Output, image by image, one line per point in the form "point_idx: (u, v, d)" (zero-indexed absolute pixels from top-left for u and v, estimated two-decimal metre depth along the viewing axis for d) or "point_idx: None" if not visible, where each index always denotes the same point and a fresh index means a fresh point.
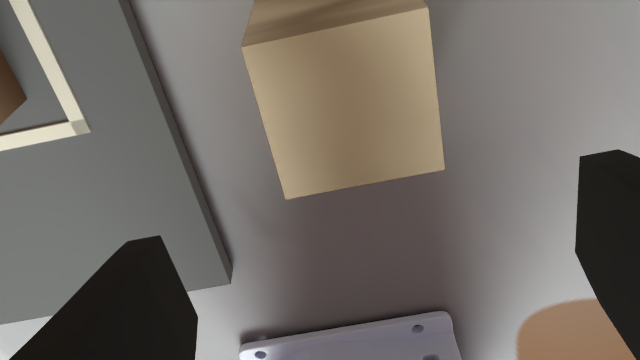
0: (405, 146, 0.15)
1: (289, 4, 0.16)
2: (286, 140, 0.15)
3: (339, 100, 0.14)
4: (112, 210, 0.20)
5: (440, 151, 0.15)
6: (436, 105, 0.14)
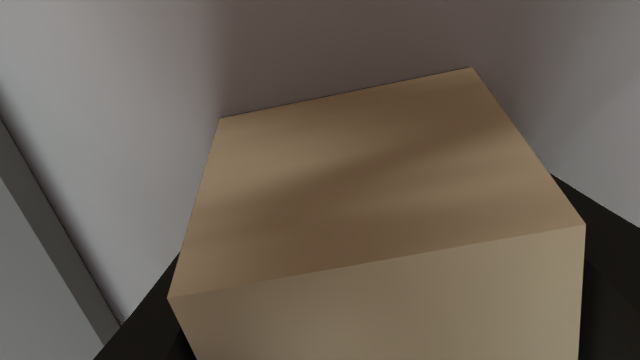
0: None
1: (277, 146, 0.09)
2: None
3: None
4: None
5: None
6: None
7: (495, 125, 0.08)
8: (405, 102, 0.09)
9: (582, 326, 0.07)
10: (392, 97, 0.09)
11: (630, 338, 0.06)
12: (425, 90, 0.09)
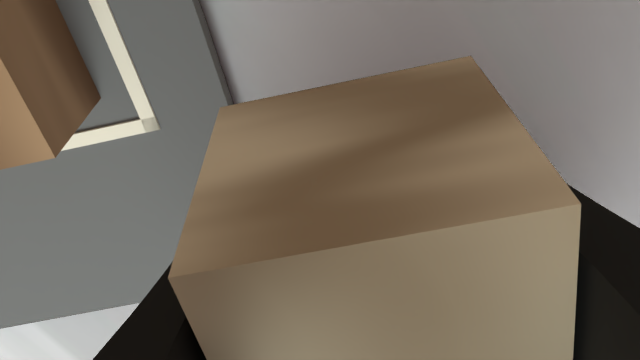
0: None
1: (277, 133, 0.09)
2: None
3: (375, 359, 0.07)
4: (176, 204, 0.21)
5: None
6: None
7: (492, 111, 0.08)
8: (404, 90, 0.09)
9: (582, 326, 0.07)
10: (390, 85, 0.09)
11: (630, 338, 0.06)
12: (424, 78, 0.09)
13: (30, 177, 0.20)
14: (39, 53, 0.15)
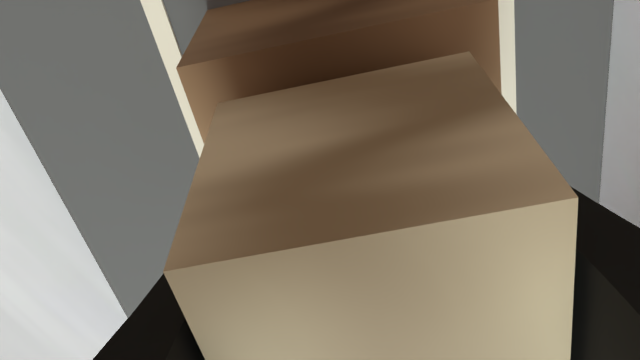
0: None
1: (274, 128, 0.09)
2: None
3: (372, 354, 0.07)
4: None
5: None
6: (566, 358, 0.07)
7: (490, 106, 0.08)
8: (402, 85, 0.09)
9: (582, 326, 0.07)
10: (388, 80, 0.09)
11: (630, 338, 0.06)
12: (422, 74, 0.09)
13: None
14: None
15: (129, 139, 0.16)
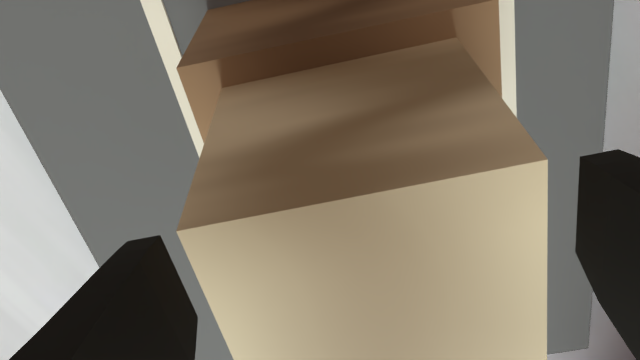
0: None
1: (275, 108, 0.09)
2: None
3: (365, 309, 0.08)
4: None
5: None
6: (543, 312, 0.08)
7: (474, 84, 0.08)
8: (393, 68, 0.10)
9: None
10: (381, 64, 0.10)
11: None
12: (412, 58, 0.10)
13: None
14: None
15: (129, 139, 0.16)
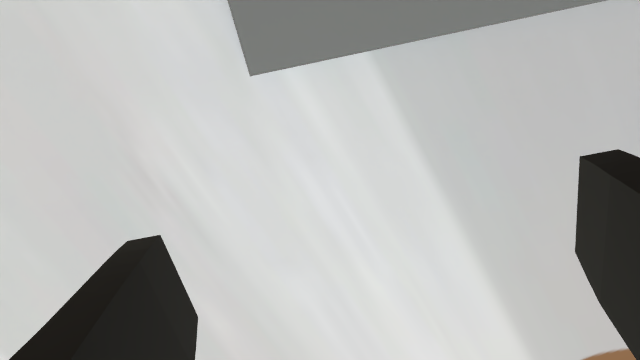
0: None
1: None
2: None
3: None
4: None
5: None
6: None
7: None
8: None
9: None
10: None
11: None
12: None
13: None
14: None
15: None
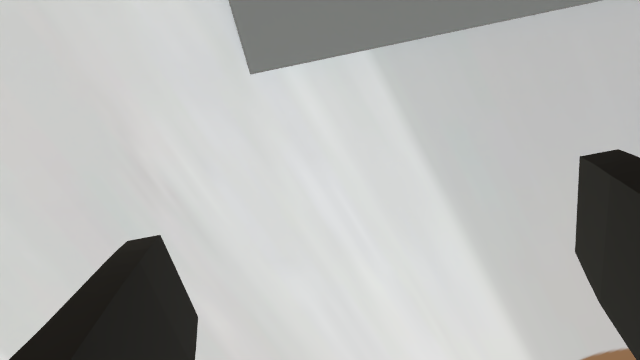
0: None
1: None
2: None
3: None
4: None
5: None
6: None
7: None
8: None
9: None
10: None
11: None
12: None
13: None
14: None
15: None
